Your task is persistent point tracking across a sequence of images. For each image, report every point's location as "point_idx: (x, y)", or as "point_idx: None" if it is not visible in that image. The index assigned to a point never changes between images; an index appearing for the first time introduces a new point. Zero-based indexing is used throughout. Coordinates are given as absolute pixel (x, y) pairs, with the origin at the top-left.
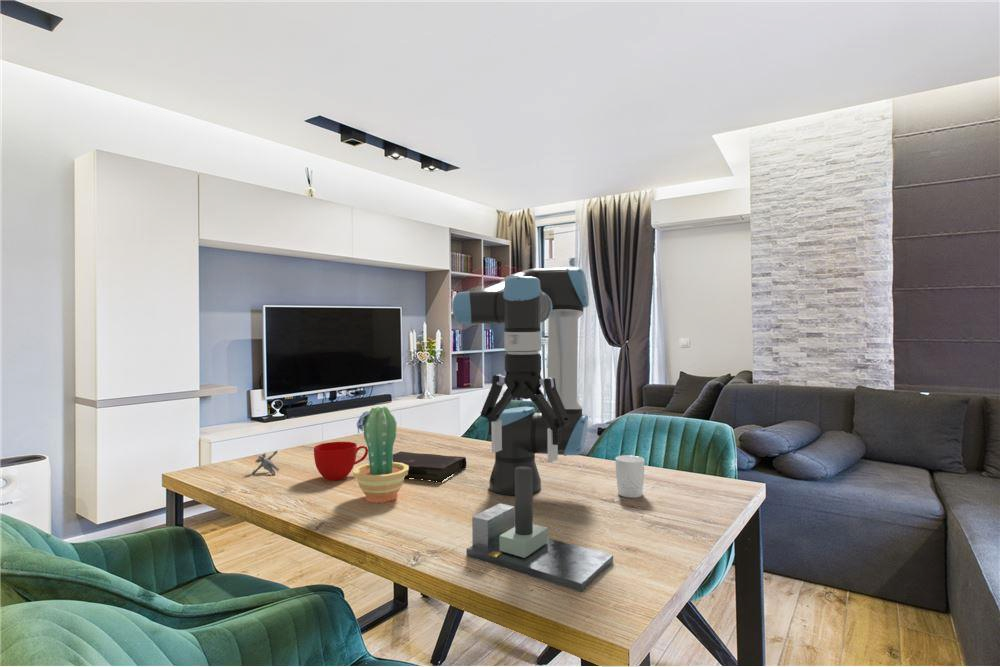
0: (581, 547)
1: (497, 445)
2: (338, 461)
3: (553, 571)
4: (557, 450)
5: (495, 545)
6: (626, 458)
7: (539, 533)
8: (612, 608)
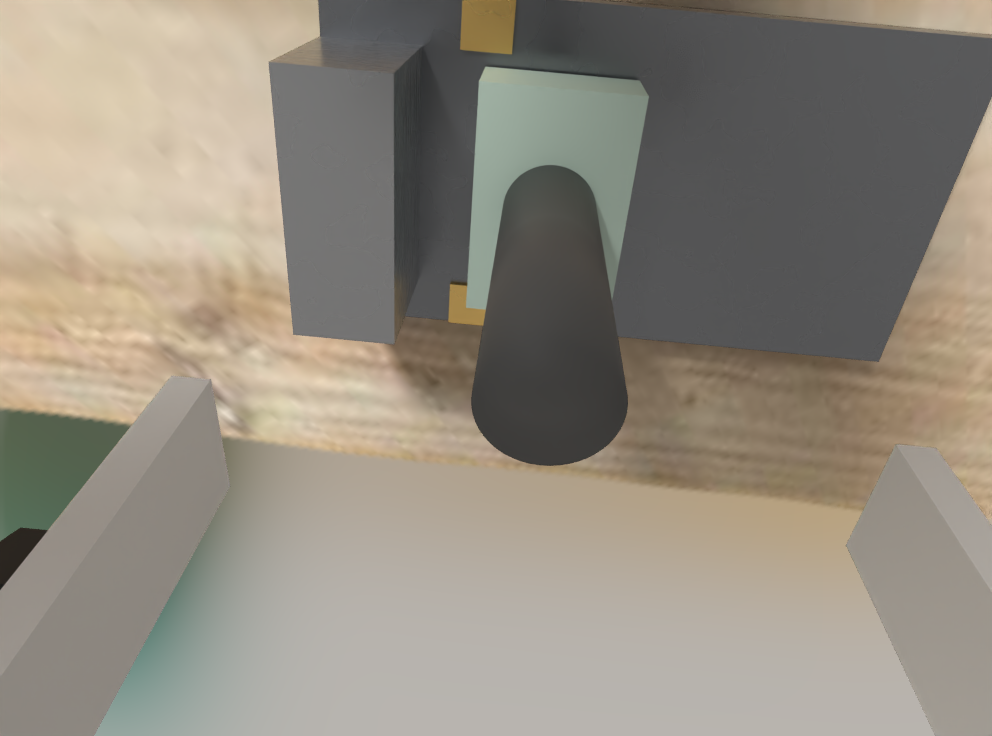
0: (829, 30)
1: (194, 490)
2: None
3: (751, 326)
4: (983, 519)
5: (420, 226)
6: None
7: (631, 186)
8: (982, 390)
